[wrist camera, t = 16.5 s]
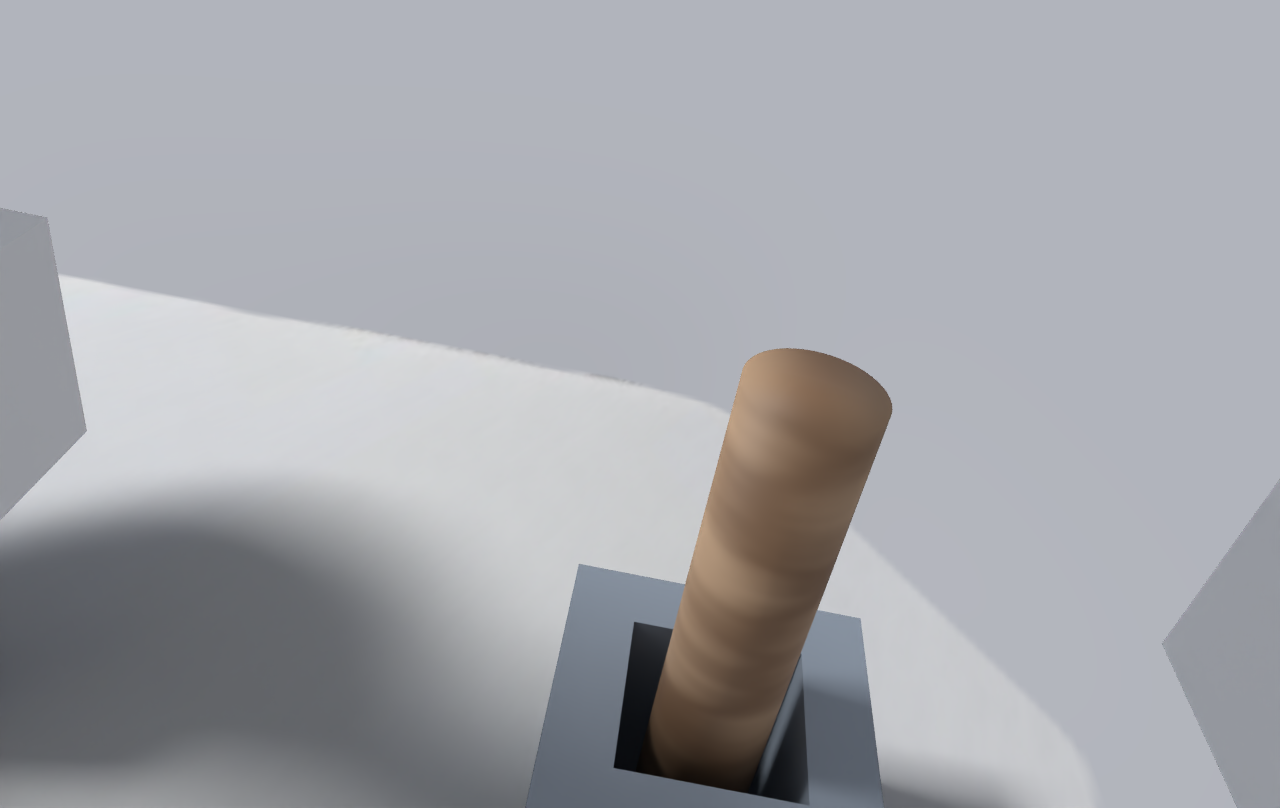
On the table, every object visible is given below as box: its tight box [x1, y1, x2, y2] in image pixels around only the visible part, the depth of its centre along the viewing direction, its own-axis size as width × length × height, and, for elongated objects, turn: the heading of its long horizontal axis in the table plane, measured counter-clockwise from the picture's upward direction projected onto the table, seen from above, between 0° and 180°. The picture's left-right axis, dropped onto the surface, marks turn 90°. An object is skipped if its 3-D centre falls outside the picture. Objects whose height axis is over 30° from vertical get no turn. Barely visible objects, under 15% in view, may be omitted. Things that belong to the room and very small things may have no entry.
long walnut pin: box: [635, 348, 892, 794], centre depth 32 cm, size 4×4×22 cm
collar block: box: [525, 564, 884, 808], centre depth 35 cm, size 11×11×9 cm
